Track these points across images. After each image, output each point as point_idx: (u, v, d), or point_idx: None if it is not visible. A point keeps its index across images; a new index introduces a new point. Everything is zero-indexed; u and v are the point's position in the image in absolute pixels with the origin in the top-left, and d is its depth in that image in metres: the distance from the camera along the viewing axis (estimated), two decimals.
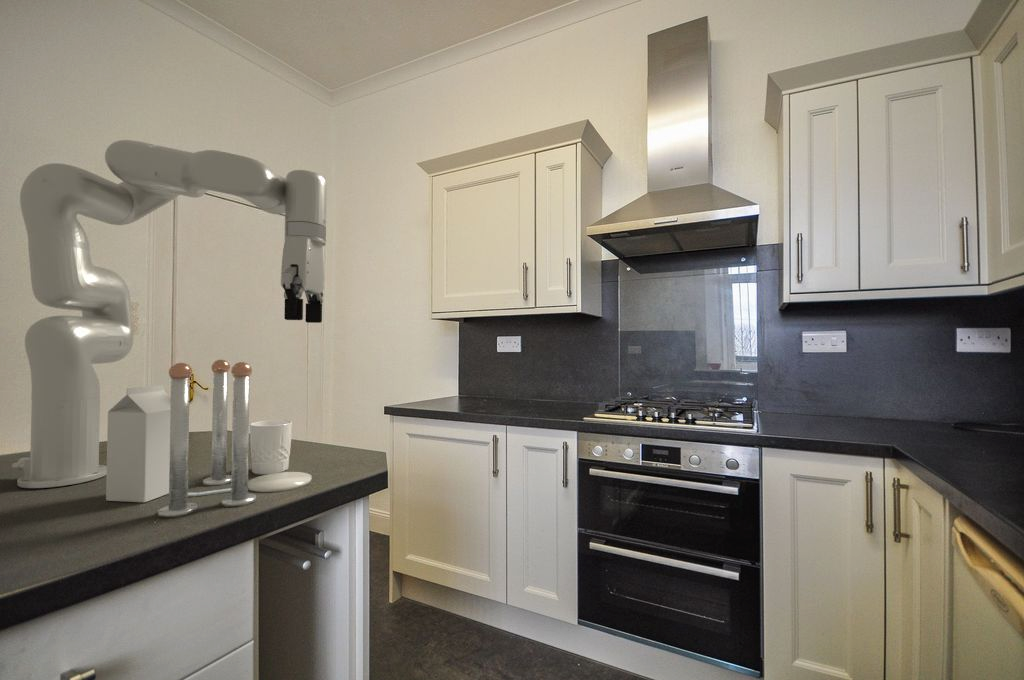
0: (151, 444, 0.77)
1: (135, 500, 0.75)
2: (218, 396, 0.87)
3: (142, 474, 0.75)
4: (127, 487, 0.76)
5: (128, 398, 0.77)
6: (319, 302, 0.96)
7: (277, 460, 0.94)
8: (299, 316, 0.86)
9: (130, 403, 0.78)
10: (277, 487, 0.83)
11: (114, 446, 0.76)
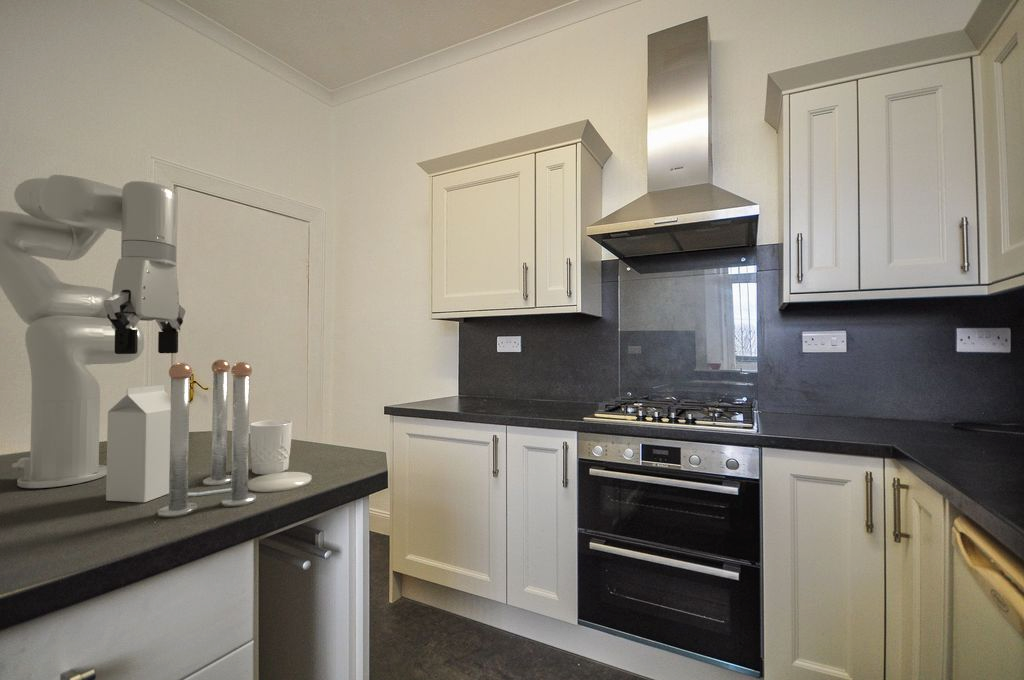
0: (151, 444, 0.77)
1: (135, 500, 0.75)
2: (218, 396, 0.87)
3: (142, 474, 0.75)
4: (127, 487, 0.76)
5: (128, 398, 0.77)
6: (174, 330, 0.85)
7: (277, 460, 0.94)
8: (132, 349, 0.74)
9: (130, 403, 0.78)
10: (277, 487, 0.83)
11: (114, 446, 0.76)
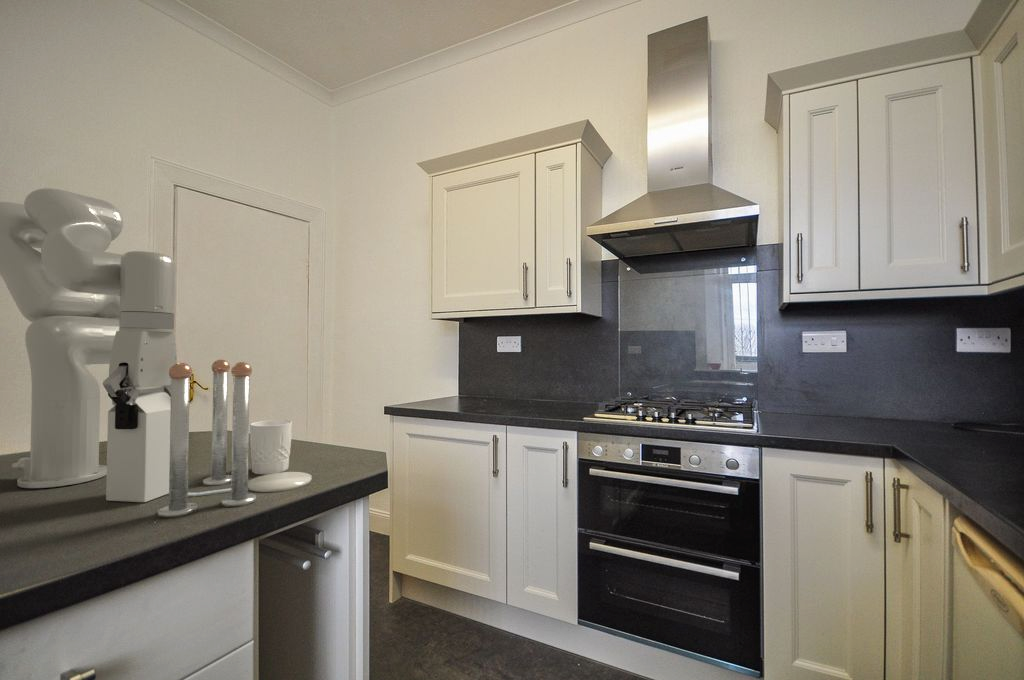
0: (152, 444, 0.77)
1: (135, 500, 0.75)
2: (218, 396, 0.87)
3: (142, 474, 0.75)
4: (127, 487, 0.76)
5: None
6: None
7: (277, 460, 0.94)
8: (132, 425, 0.75)
9: None
10: (277, 487, 0.83)
11: (114, 446, 0.76)
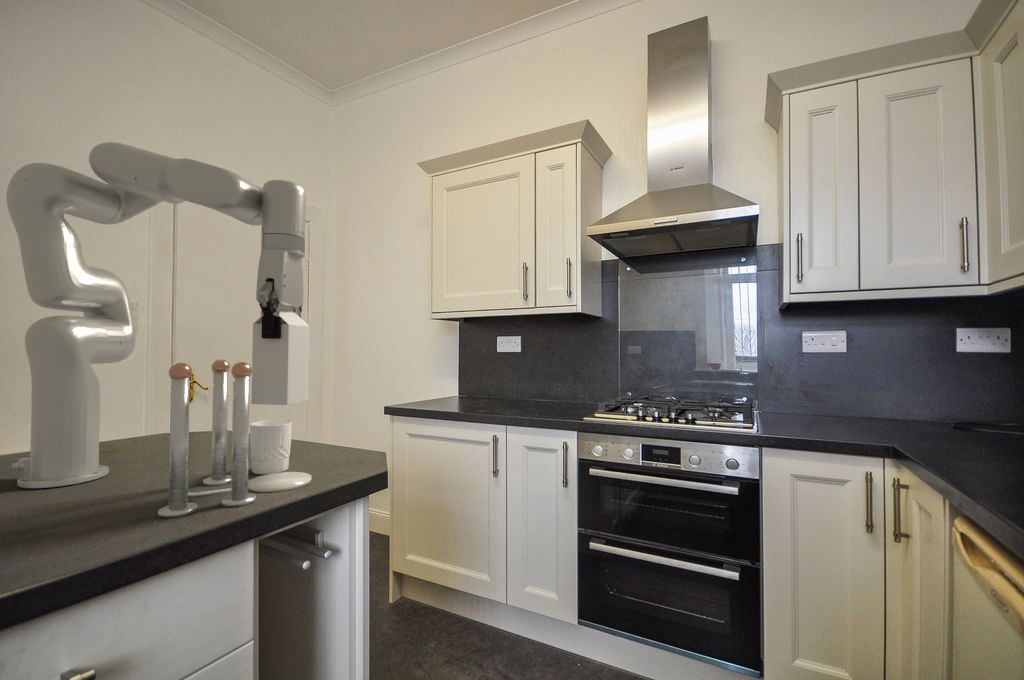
0: (292, 353, 0.85)
1: (278, 403, 0.84)
2: (218, 396, 0.87)
3: (285, 380, 0.84)
4: (271, 391, 0.84)
5: None
6: None
7: (277, 460, 0.94)
8: (277, 335, 0.83)
9: None
10: (277, 487, 0.83)
11: (259, 354, 0.84)
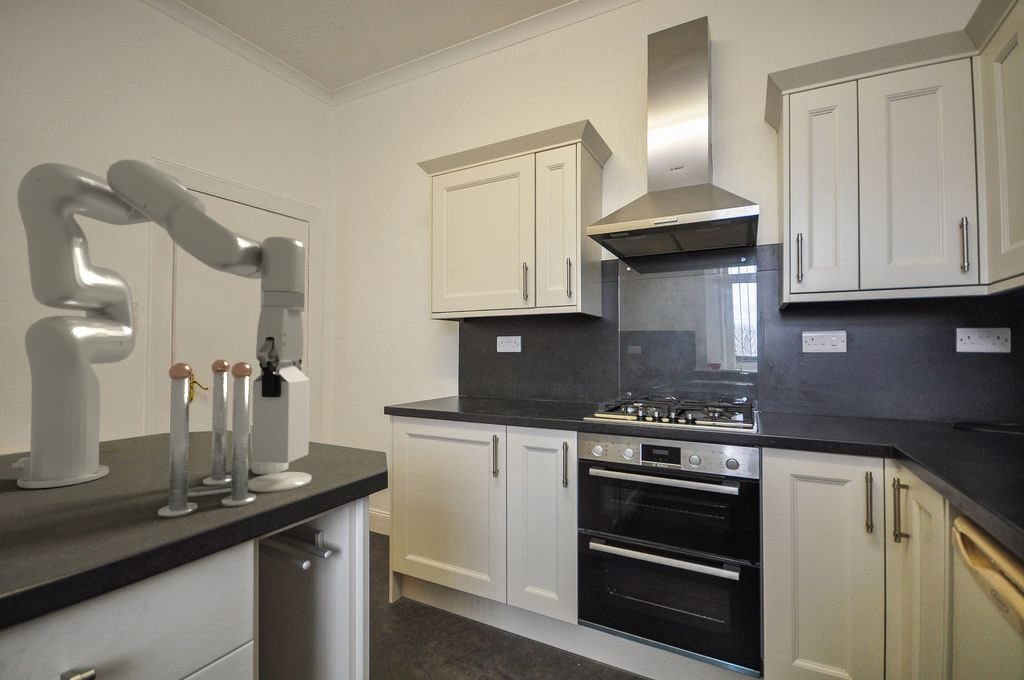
0: (292, 411, 0.85)
1: (279, 461, 0.84)
2: (218, 396, 0.87)
3: (286, 438, 0.83)
4: (272, 450, 0.84)
5: None
6: None
7: None
8: (277, 393, 0.83)
9: None
10: (277, 487, 0.83)
11: (259, 412, 0.84)
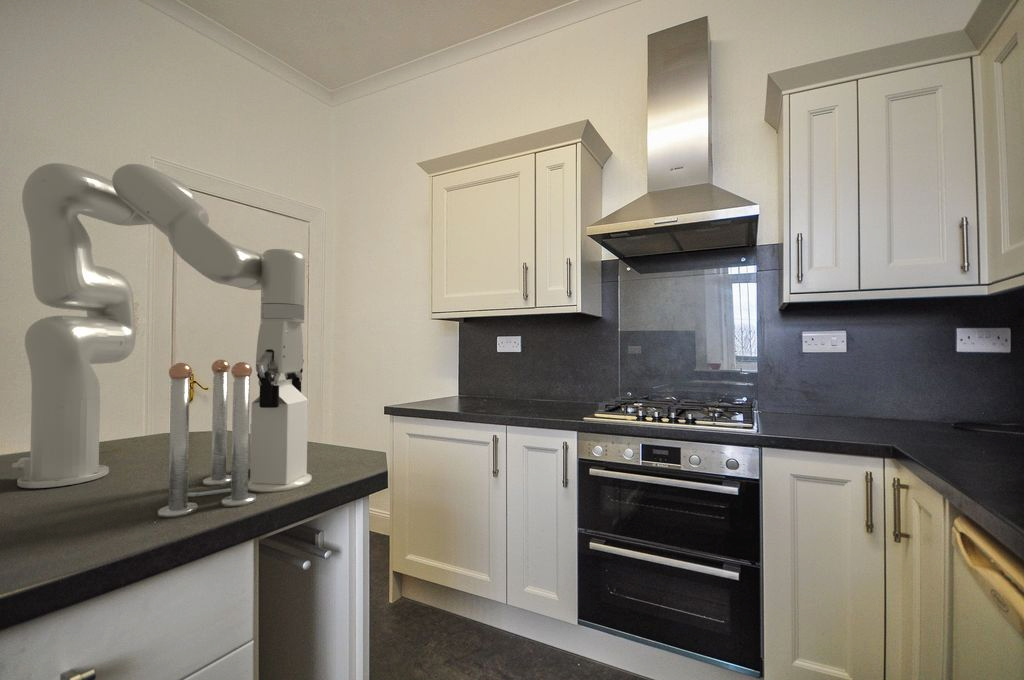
0: (290, 432, 0.85)
1: (278, 482, 0.84)
2: (218, 396, 0.87)
3: (284, 459, 0.84)
4: (270, 471, 0.84)
5: None
6: (298, 379, 0.93)
7: None
8: (275, 404, 0.82)
9: None
10: (277, 487, 0.83)
11: (258, 434, 0.84)
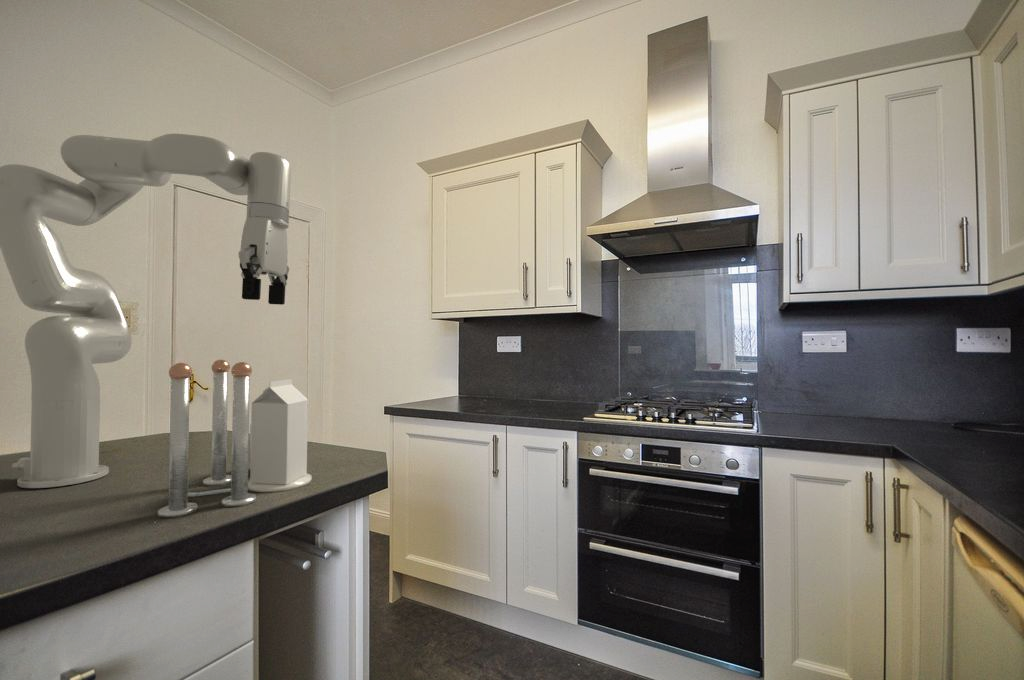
0: (290, 432, 0.85)
1: (278, 482, 0.84)
2: (218, 396, 0.87)
3: (284, 459, 0.84)
4: (270, 471, 0.84)
5: (269, 391, 0.85)
6: (282, 284, 0.97)
7: None
8: (256, 296, 0.87)
9: (268, 395, 0.86)
10: (277, 487, 0.83)
11: (258, 434, 0.84)
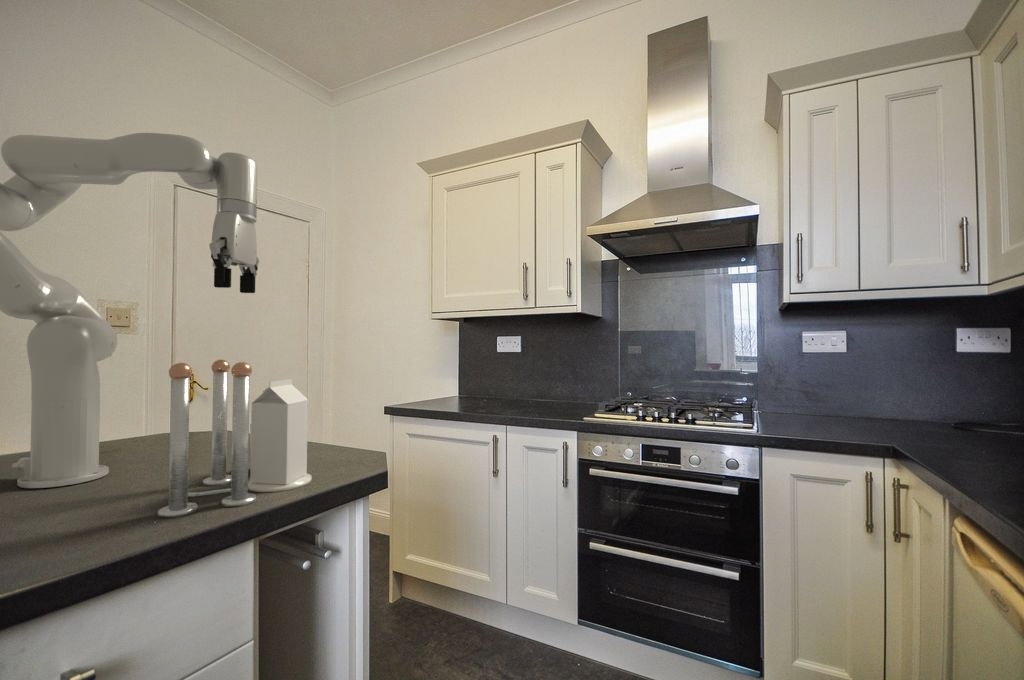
0: (290, 432, 0.85)
1: (278, 482, 0.84)
2: (218, 396, 0.87)
3: (284, 459, 0.84)
4: (270, 471, 0.84)
5: (269, 391, 0.85)
6: (252, 274, 1.05)
7: None
8: (227, 284, 0.95)
9: (268, 395, 0.86)
10: (277, 487, 0.83)
11: (258, 434, 0.84)
